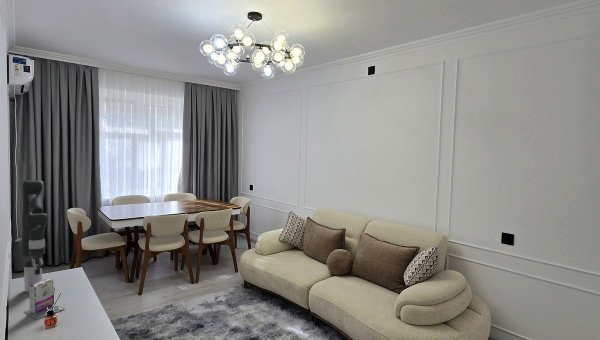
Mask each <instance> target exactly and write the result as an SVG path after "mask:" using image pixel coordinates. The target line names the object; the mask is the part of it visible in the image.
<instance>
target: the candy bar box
mask: <svg viewBox="0 0 600 340" xmlns="http://www.w3.org/2000/svg"><path fill="white" fill-rule="evenodd" d="M54 294H55V292H54V279H53V278H45V279H42V281H40V282H37V283H35V284H32V285H29V293H28V295H29V296H28V297H29V298H28V299H29V310H30V313H38V312H40V311H43V310H45V309H46V308H47V307H48V308H49V307H51V306H52V305H53V304H55V296H54Z"/></svg>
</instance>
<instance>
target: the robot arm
mask: <svg viewBox="0 0 600 340" xmlns="http://www.w3.org/2000/svg"><path fill="white" fill-rule="evenodd" d="M21 186H22V188H21V189H22V190H21V193H22V213H21V214H22V217H21V228H22V230H21V243H20V254H21V257H23V258H24V257H25V258H26V257H30V258H29V259H28V260H26V261H25V262H23V269H24V270H23V273H24V275H23V277H24V279H23V280H24V293H25V292H26V293H25V294H27V293H28V294H29V285H32V284H35V283H37V282H40V281H42V280H43V266H44V265H45V260H43V258H44V257H43V255H44V254H46V240H45V230H46V227H47V224H48V220H49V216H48V214H47V213H44V199H45V198H44V197H45V182H44V181H43V180H24V181H23V182H22V185H21ZM31 195H35V196H34V197H33V198H32V199H30V197H29V196H31Z"/></svg>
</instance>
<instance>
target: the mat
mask: <svg viewBox="0 0 600 340" xmlns="http://www.w3.org/2000/svg"><path fill="white" fill-rule="evenodd" d="M58 307H60V305H57V306H55V307H54V311H55V312H57V313H59V312H58V311H59V308H58ZM61 308H62V310H63V311H65V308H63V307H61ZM49 309H50V310H51V309H52V306H51V307H49ZM47 311H48V310H47V309H45V310H43V311H40V312H38V313H30V309H28V310H25V311H24V313H25V314H26V315H28V316H29V317H30V318H32V319H34V320H37V321H38V320H40V319H43V318H45V317H44V316H45V315H46V314H47Z"/></svg>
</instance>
